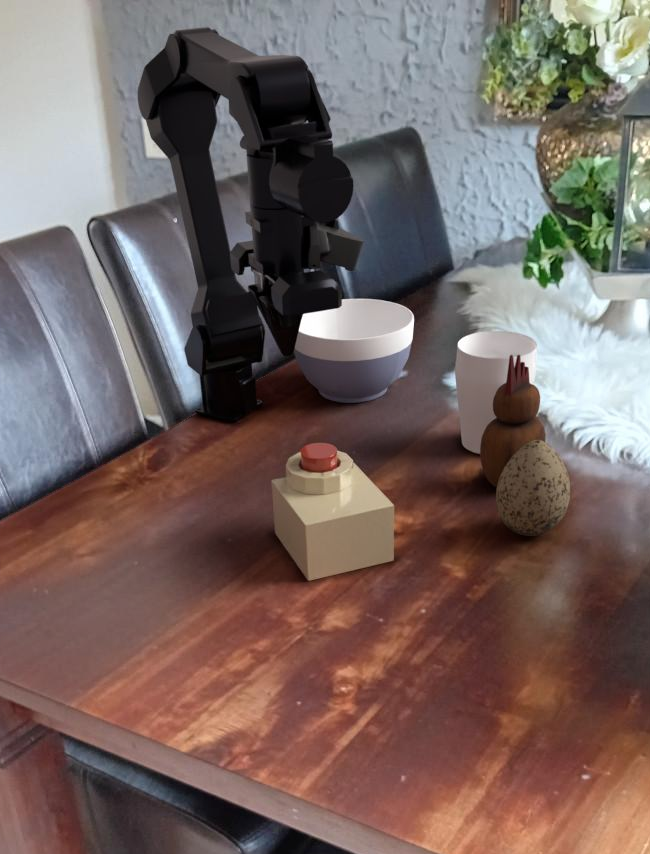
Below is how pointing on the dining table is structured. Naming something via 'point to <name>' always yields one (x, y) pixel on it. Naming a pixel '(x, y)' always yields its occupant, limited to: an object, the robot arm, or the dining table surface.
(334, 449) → the red push button
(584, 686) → the dining table surface
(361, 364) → the bowl
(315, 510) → the button base
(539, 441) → the decorative egg
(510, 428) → the wooden figurine
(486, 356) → the cup
